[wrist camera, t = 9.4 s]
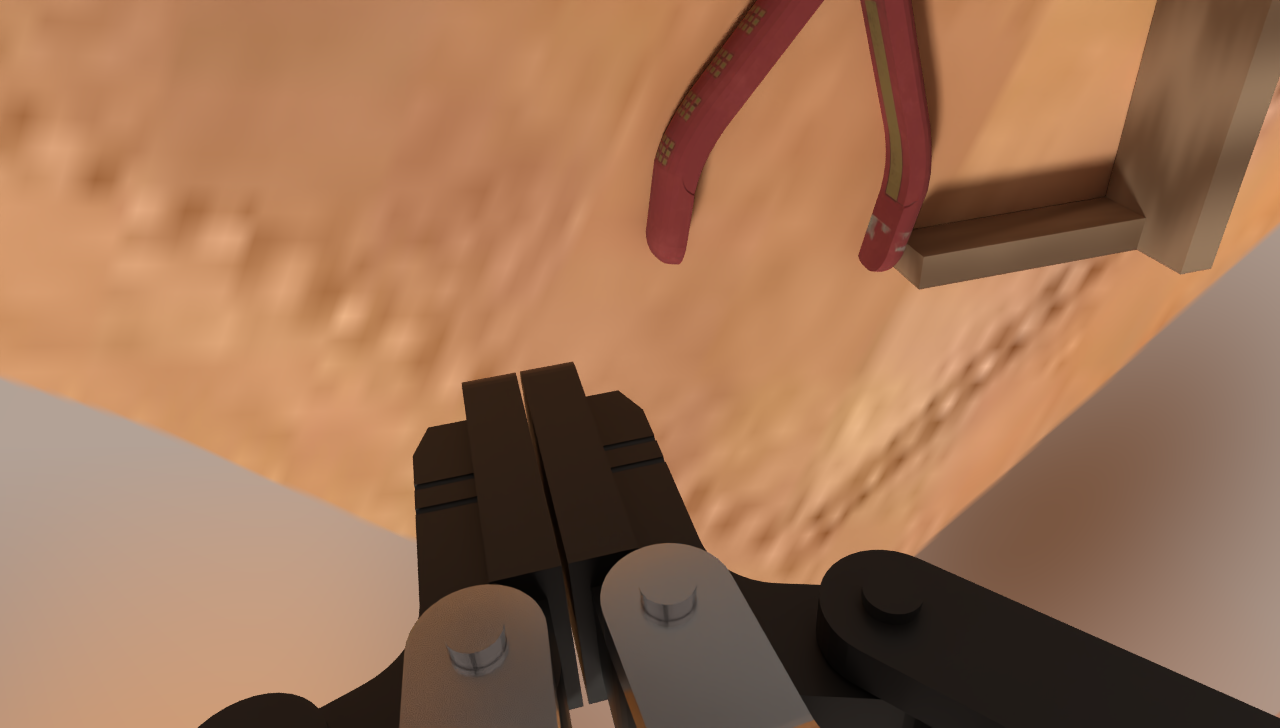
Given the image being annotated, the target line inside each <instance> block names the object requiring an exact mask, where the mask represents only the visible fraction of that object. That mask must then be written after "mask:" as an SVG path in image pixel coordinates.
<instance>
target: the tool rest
mask: <svg viewBox="0 0 1280 728" xmlns="http://www.w3.org/2000/svg"><path fill="white" fill-rule="evenodd" d="M1279 77H1280V0H1157V4H1156V7H1155V11H1154V15H1153V19H1152V23H1151V26H1150V30H1149V34H1148V38H1147V42H1146V45H1145V49H1144V53H1143V57H1142V61H1141V64H1140V68H1139V72H1138V76H1137V79H1136V83H1135V87H1134V91H1133V95H1132V98H1131V102H1130V106H1129V110H1128V114H1127V117H1126V121H1125V125H1124V129H1123V132H1122V136H1121V140H1120V144H1119V148H1118V151H1117V155H1116V159H1115V163H1114V167H1113V170H1112V174H1111V178H1110V182H1109V186H1108V189H1107V193H1106V197H1102V198H1096V199H1090V200H1084V201H1078V202H1072V203H1066V204H1061V205H1055V206H1049V207H1043V208H1037V209H1031V210H1025V211H1019V212H1013V213H1008V214H1002V215H996V216H990V217H984V218H978V219H972V220H966V221H960V222H954V223H949V224H943V225H937V226H931V227H925V228H919V229H913V230H912V232H911V235H910V237H909V240H908V243H907V245H906V248H905V250H904V253H903V255H902V257H901V259H900V260H899V261H898V262H897V264H896V265H895V266H893V267H894V268H895V269H896V270H897V271H899V272H900V273H901V274H902V275H903V276H904V277H905V278H907V279H908V280H909V281H910V282H911V283H912V284H913V285H915V286H916V287H917V288H918V289H924V288H930V287H935V286H941V285H946V284H951V283H957V282H962V281H968V280H973V279H979V278H984V277H990V276H995V275H1001V274H1006V273H1011V272H1017V271H1022V270H1028V269H1033V268H1039V267H1044V266H1050V265H1055V264H1061V263H1066V262H1072V261H1077V260H1082V259H1088V258H1093V257H1099V256H1104V255H1110V254H1115V253H1121V252H1126V251H1132V250H1138V251H1140V252H1142V253H1144V254H1145V255H1147V256H1149V257H1151V258H1152V259H1154V260H1156V261H1158V262H1159V263H1161V264H1163V265H1165V266H1166V267H1168V268H1170V269H1172V270H1173V271H1175V272H1177V273H1179V274H1185V273H1191V272H1196V271H1201V270H1206V269H1211V268H1212V265H1213V262H1214V259H1215V256H1216V254H1217V251H1218V248H1219V245H1220V242H1221V239H1222V237H1223V234H1224V231H1225V228H1226V225H1227V223H1228V220H1229V217H1230V214H1231V211H1232V209H1233V206H1234V203H1235V200H1236V197H1237V195H1238V192H1239V189H1240V186H1241V183H1242V181H1243V178H1244V175H1245V172H1246V169H1247V166H1248V164H1249V161H1250V158H1251V155H1252V152H1253V150H1254V147H1255V144H1256V141H1257V138H1258V136H1259V133H1260V130H1261V127H1262V124H1263V122H1264V119H1265V116H1266V113H1267V110H1268V108H1269V105H1270V102H1271V99H1272V96H1273V93H1274V91H1275V88H1276V85H1277V82H1278V79H1279Z"/></svg>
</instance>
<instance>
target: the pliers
mask: <svg viewBox="0 0 1280 728" xmlns="http://www.w3.org/2000/svg"><path fill="white" fill-rule="evenodd" d="M823 1H824V0H757V1H756V2H755V3H754V5H753V6H752V7H751V9H750V10H749V11H748V13H747V14H746V16H745V17H744V18H743V20H742V21H741V22H740V24H739V25H738V26H737V28H736V29H735V30H734V32H733V33H732V34H731V36H730V37H729V38H728V40H727V41H726V42H725V44H724V45H723V47H722V48H721V49H720V51H719V52H718V53H717V55H716V56H715V57H714V59H713V60H712V61H711V63H710V64H709V65H708V67H707V68H706V69H705V71H704V72H703V73H702V75H701V76H700V77H699V79H698V80H697V82H696V83H695V84H694V86H693V87H692V88H691V90H690V91H689V92H688V94H687V95H686V97H685V98H684V100H683V101H682V103H681V104H680V106H679V108H678V109H677V111H676V113H675V114H674V116H673V118H672V120H671V122H670V123H669V125H668V127H667V129H666V131H665V133H664V135H663V137H662V139H661V142H660V145H659V148H658V151H657V154H656V157H655V160H654V168H653V176H652V185H651V193H650V202H649V210H648V219H647V227H646V238H647V243H648V246H649V248H650V250H651V252H652V253H653V254H654V255H655V257H657V258H658V259H659V260H660V261H662V262H664V263H667V264H680V263H681V262H682V260H683V258H684V255H685V251H686V246H687V240H688V234H689V228H690V221H691V215H692V209H693V202H694V194H695V191H696V187H697V183H698V180H699V177H700V174H701V172H702V169H703V166H704V164H705V162H706V160H707V158H708V156H709V154H710V152H711V151H712V149H713V147H714V145H715V144H716V142H717V140H718V139H719V137H720V136H721V134H722V133H723V131H724V130H725V128H726V127H727V126H728V124H729V123H730V122H731V120H732V119H733V118H734V116H735V115H736V114H737V113H738V111H739V110H740V109H741V107H742V106H743V105H744V103H745V102H746V101H747V100H748V98H749V97H750V96H751V94H752V93H753V92H754V90H755V89H756V88H757V87H758V85H759V84H760V83H761V81H762V80H763V79H764V78H765V76H766V75H767V74H768V72H769V71H770V70H771V68H772V67H773V66H774V65H775V63H776V62H777V61H778V59H779V58H780V57H781V55H782V54H783V53H784V52H785V50H786V49H787V48H788V46H789V45H790V44H791V42H792V41H793V40H794V39H795V37H796V36H797V35H798V33H799V32H800V31H801V29H802V28H803V27H804V26H805V24H806V23H807V22H808V20H809V19H810V18H811V17H812V15H813V14H814V13H815V11H816V10H817V9H818V7H819V6H820V5H821V4H822V2H823ZM860 1H861V6H862V11H863V17H864V22H865V27H866V33H867V38H868V43H869V49H870V54H871V59H872V65H873V70H874V75H875V81H876V86H877V91H878V97H879V102H880V107H881V113H882V118H883V123H884V130H885V140H886V163H885V170H884V177H883V181H882V185H881V190H880V192H879V195H878V198H877V201H876V204H875V207H874V210H873V213H872V216H871V219H870V222H869V225H868V228H867V231H866V234H865V237H864V240H863V243H862V246H861V249H860V252H859V255H858V256H859V259H860V261H861V263H862V264H863V265H864V266H865V267H866V268H867V269H868V270H869V271H874V272H882V271H886V270H889V269H891V268H892V267H893V266H895V265H896V264H897V262H898V261H899V260H900V259H901V257H902V255H903V253H904V250H905V248H906V245H907V243H908V240H909V237H910V235H911V232H912V230H913V227H914V224H915V222H916V219H917V217H918V214H919V212H920V209H921V206H922V204H923V201H924V199H925V196H926V193H927V191H928V186H929V180H930V175H931V159H932V155H931V128H930V120H929V114H928V107H927V101H926V94H925V88H924V81H923V74H922V68H921V61H920V55H919V48H918V41H917V35H916V28H915V22H914V15H913V9H912V2H911V0H860Z"/></svg>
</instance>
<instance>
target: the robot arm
mask: <svg viewBox="0 0 1280 728" xmlns="http://www.w3.org/2000/svg"><path fill="white" fill-rule="evenodd" d="M520 376H521V383H522V390H523V396H524V402H525V408H526V414H527V418H526V414H525V410H524V405H523V401H522V397H521V393H520V389H519V384H518V380H517V376H516V373H511V374H506V375H500V376H495V377H490V378H484V379H479V380H473V381H468V382H463V383H462V390H463V397H464V404H465V412H466V419H467V420H465V421H460V422H455V423H450V424H444V425H439V426H434V427H429V428H428V429H427V431H426V433H425V434H424V436H423V438H422V440H421V442H420V444H419V446H418V447H417V449H416V451H415V453H414V455H413V470H414V486H415V491H414V492H415V510H416V536H417V558H418V578H419V579H418V580H419V602H420V609H419V618H418V620H417V622H416V623H415V625H414V626H413V628H412V630H411V631H410V633H409V636H408V639H407V641H406V646H405V649H404V650H403V652H402V653H401V654H400V655H399V656H398V658H397V659H396V660H395V661H394V662H393V663H392V664H391V665H390V666H389V667H388V668H386V669H385V670H384V671H383V672H381V673H380V674H379V675H378V676H376V677H375V678H373V679H372V680H370V681H368V682H367V683H365V684H363V685H362V686H360V687H358V688H356V689H355V690H353V691H351V692H349V693H347V694H345V695H343V696H341V697H340V698H338V699H336V700H334V701H332V702H330V703H328V704H327V705H325V706H323V707H321V708H319V709H318V708H317V707H316V706H315V705H314V704H313V703H312V702H310V701H308V700H307V699H305V698H303V697H300V696H297V695H293V694H286V693H268V694H263V695H257V696H253V697H250V698H247V699H244V700H241V701H239V702H237V703H234V704H232V705H230V706H228V707H226V708H225V709H223V710H221V711H219V712H218V713H216V714H215V715H213V716H212V717H210V718H209V719H208V720H206V721H205V722H204V723H203V724H201V725H200V726H199V727H198V728H572V725H571V719H570V713H569V710H571V709H575V708H578V707H582V706H583V700H582V694H581V687H580V681H579V674H578V668H577V662H576V655H575V649H574V642H573V637H574V640H575V645H576V650H577V654H578V658H579V663H580V667H581V671H582V676H583V680H584V684H585V688H586V692H587V697H588V701H589V704H592V703H596V702H600V701H604V700H608V701H609V705H610V710H611V714H612V717H613V721H614V725H615V728H1280V718H1278V717H1276V716H1274V715H1271V714H1269V713H1267V712H1265V711H1262V710H1260V709H1258V708H1255V707H1253V706H1251V705H1248V704H1246V703H1244V702H1242V701H1239V700H1237V699H1235V698H1233V697H1230V696H1228V695H1226V694H1224V693H1222V692H1219V691H1217V690H1215V689H1212V688H1210V687H1208V686H1206V685H1203V684H1201V683H1199V682H1197V681H1194V680H1192V679H1190V678H1188V677H1185V676H1183V675H1181V674H1178V673H1176V672H1174V671H1172V670H1170V669H1167V668H1165V667H1163V666H1160V665H1158V664H1156V663H1154V662H1151V661H1149V660H1147V659H1145V658H1142V657H1140V656H1138V655H1136V654H1133V653H1131V652H1128V651H1126V650H1124V649H1122V648H1120V647H1117V646H1115V645H1113V644H1111V643H1108V642H1106V641H1104V640H1102V639H1099V638H1097V637H1095V636H1092V635H1090V634H1088V633H1085V632H1083V631H1081V630H1079V629H1077V628H1074V627H1072V626H1070V625H1068V624H1065V623H1063V622H1061V621H1059V620H1056V619H1054V618H1052V617H1049V616H1047V615H1045V614H1043V613H1041V612H1038V611H1036V610H1034V609H1032V608H1029V607H1027V606H1025V605H1022V604H1020V603H1018V602H1015V601H1013V600H1011V599H1009V598H1007V597H1004V596H1002V595H1000V594H998V593H995V592H993V591H991V590H988V589H986V588H984V587H982V586H979V585H977V584H975V583H973V582H970V581H968V580H966V579H964V578H961V577H959V576H957V575H955V574H952V573H950V572H947V571H945V570H943V569H941V568H939V567H936V566H934V565H932V564H930V563H927V562H925V561H923V560H921V559H918V558H916V557H913V556H910V555H908V554H904V553H900V552H896V551H888V550H868V551H861V552H857V553H854V554H851V555H848V556H846V557H844V558H842V559H840V560H839V561H838V562H836V563H835V564H833V565H832V566H831V568H830V569H829V570H828V571H827V572H826V574H825V576H824V577H823V579H822V582H821V585H809V584H782V583H768V582H761V581H756V580H752V579H749V578H746V577H743V576H740V575H738V574H736V573H734V572H732V571H730V570H728V569H727V568H726V566H725V565H724V564H723V563H722V562H721V561H720V560H719V559H717V558H716V557H714V556H713V555H711V554H710V553H708V552H707V551H706V550H705V548H704V547H703V545H702V543H701V541H700V539H699V537H698V535H697V532H696V530H695V528H694V525H693V523H692V521H691V519H690V516H689V514H688V512H687V509H686V507H685V505H684V503H683V500H682V498H681V496H680V493H679V491H678V489H677V486H676V484H675V482H674V480H673V477H672V475H671V473H670V470H669V468H668V466H667V464H666V462H664V458H663V454H662V452H661V450H660V448H659V445H658V443H657V441H655V438H654V434H653V432H652V429H651V427H650V425H649V422H648V420H647V418H646V416H645V413H644V411H643V409H641V408H640V407H639V406H638V405H636V404H635V403H634V402H632V401H631V400H630V399H629V398H627V397H626V396H625V395H623V394H622V393H621V392H620V391H612V392H607V393H602V394H597V395H592V396H587V397H586V396H585V393H584V390H583V387H582V385H581V382H580V379H579V376H578V373H577V370H576V367H575V365H574V363H573V362H569V363H563V364H558V365H553V366H547V367H542V368H536V369H531V370H526V371H520ZM527 420H528V422H527ZM571 628H572V630H571ZM572 632H573V636H572Z"/></svg>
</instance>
